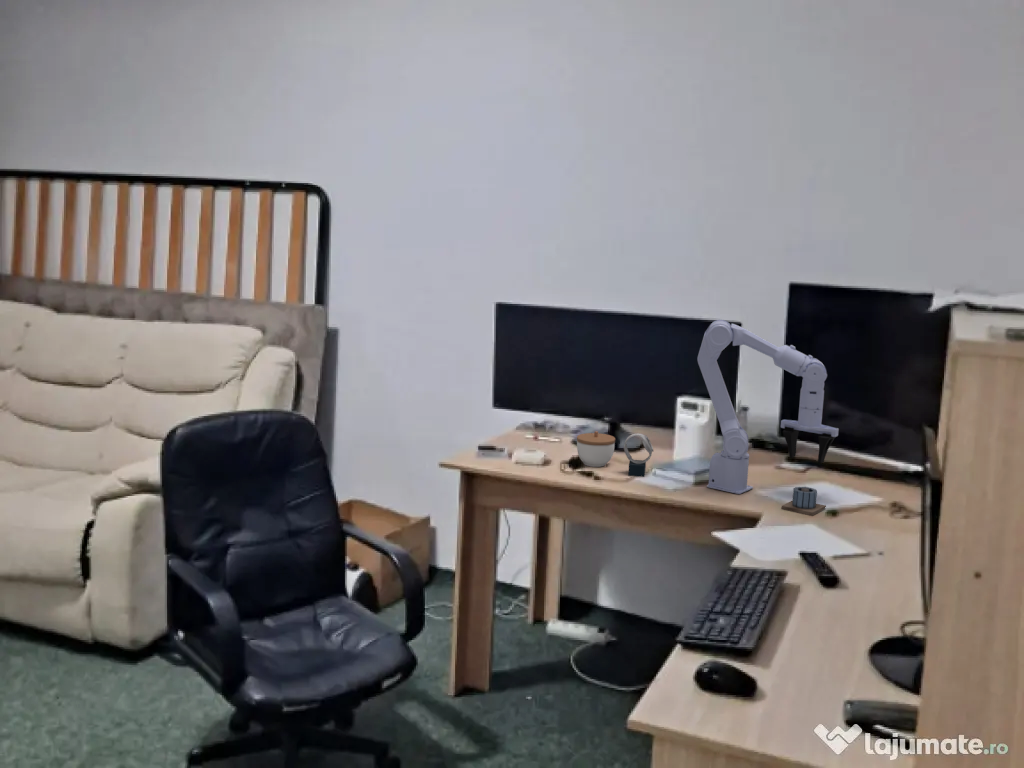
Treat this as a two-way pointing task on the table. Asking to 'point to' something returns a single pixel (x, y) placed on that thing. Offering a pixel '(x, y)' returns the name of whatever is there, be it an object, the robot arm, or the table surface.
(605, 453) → the lidded jar
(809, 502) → the collar
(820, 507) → the shaft base
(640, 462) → the watch
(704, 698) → the table surface
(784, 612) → the table surface
